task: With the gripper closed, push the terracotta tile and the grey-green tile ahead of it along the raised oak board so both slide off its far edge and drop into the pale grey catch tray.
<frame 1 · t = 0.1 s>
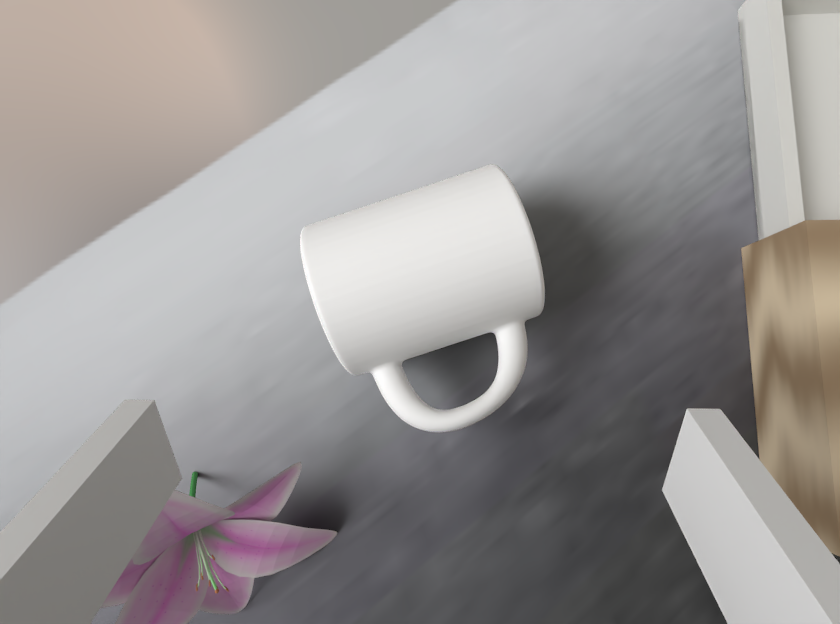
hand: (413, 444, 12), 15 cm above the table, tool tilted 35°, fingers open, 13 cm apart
lily: (244, 527, 27), on the table
mug: (436, 318, 28), on the table
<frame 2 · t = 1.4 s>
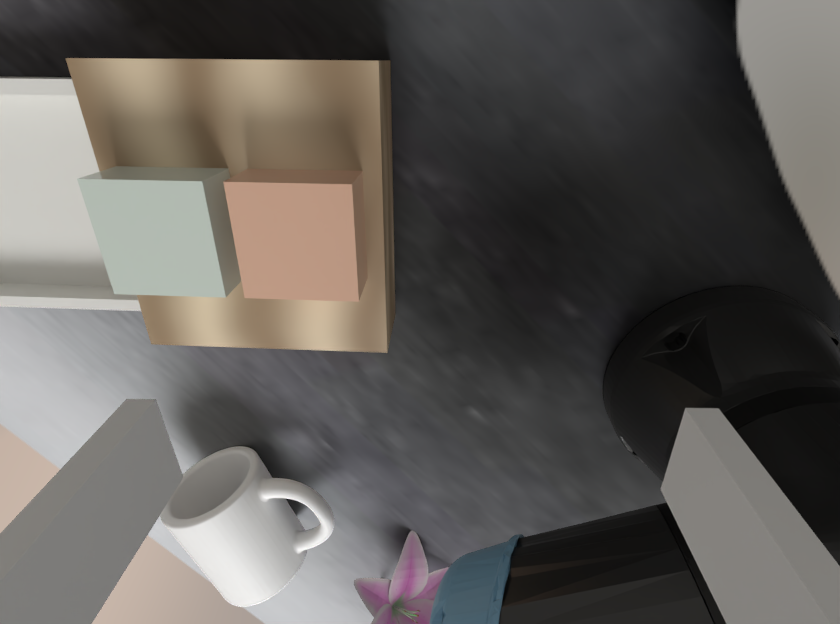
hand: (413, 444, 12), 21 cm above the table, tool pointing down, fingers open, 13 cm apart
tile grey: (184, 223, 26), point 5 cm above the table, touching oak board
catch tray: (50, 195, 31), on the table
tile terracotta: (310, 226, 26), point 5 cm above the table, touching oak board
oak board: (276, 200, 31), on the table
lily: (410, 564, 47), on the table
mug: (277, 480, 43), on the table
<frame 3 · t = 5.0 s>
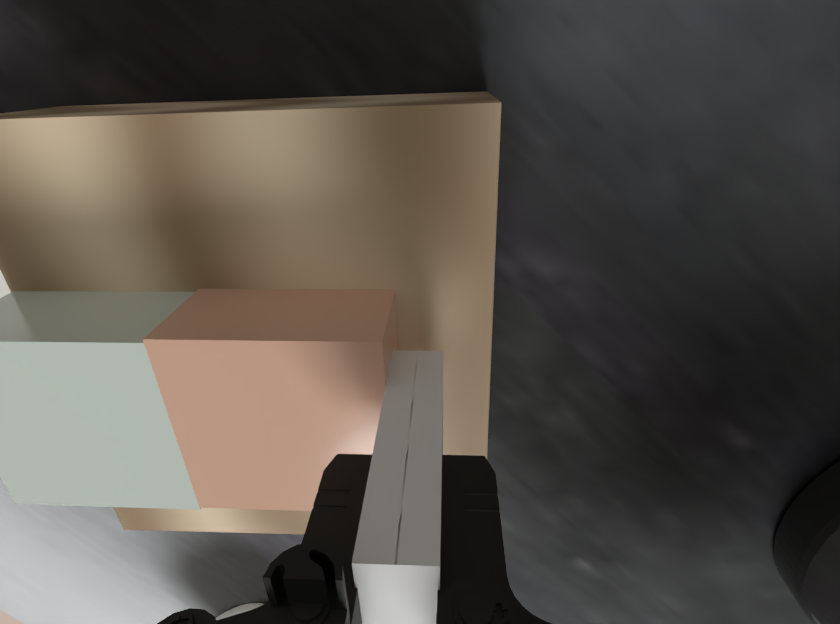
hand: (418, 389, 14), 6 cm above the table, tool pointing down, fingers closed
tile grey: (134, 371, 16), point 5 cm above the table, touching oak board, tile terracotta
tile terracotta: (308, 371, 16), point 5 cm above the table, touching gripper, oak board, tile grey
oak board: (303, 304, 20), on the table
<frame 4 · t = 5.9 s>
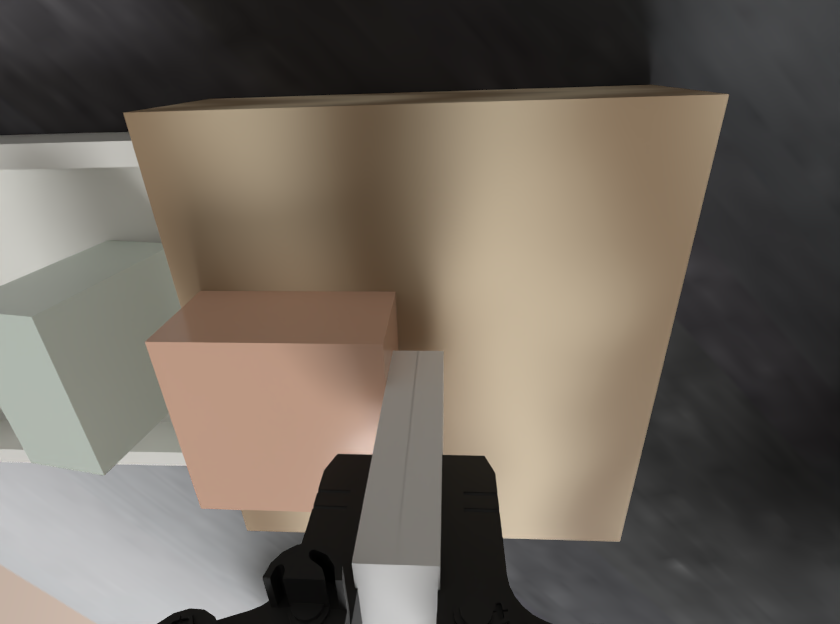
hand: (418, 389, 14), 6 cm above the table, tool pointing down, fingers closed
tile grey: (141, 351, 17), point 4 cm above the table, tilted 99°, touching catch tray
catch tray: (87, 303, 21), on the table
tile terracotta: (309, 373, 16), point 5 cm above the table, touching gripper
oak board: (429, 302, 20), on the table
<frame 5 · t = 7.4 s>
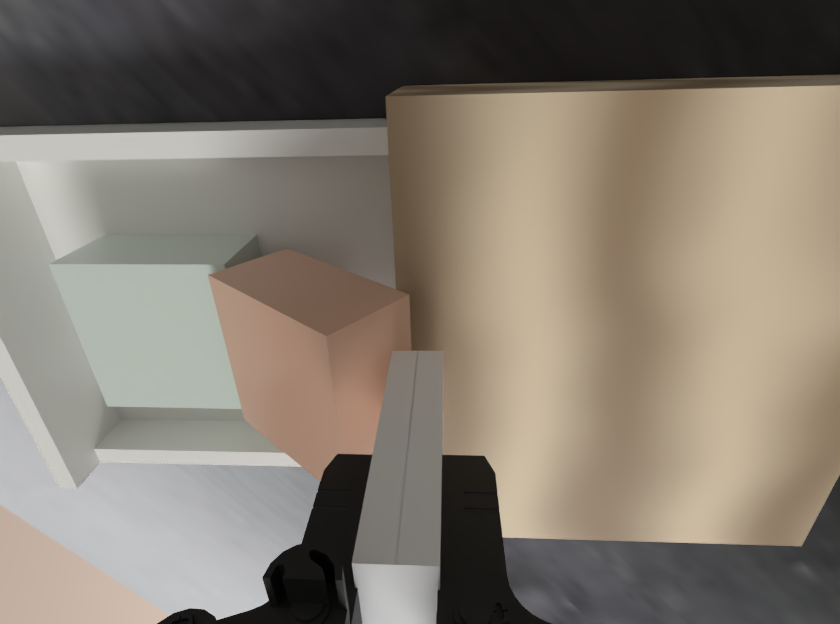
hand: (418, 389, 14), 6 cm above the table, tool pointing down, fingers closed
tile grey: (160, 342, 17), point 4 cm above the table, tilted 180°, touching tile terracotta
catch tray: (234, 299, 20), on the table
tile terracotta: (349, 347, 17), point 3 cm above the table, tilted 39°, touching gripper, tile grey
oak board: (596, 299, 19), on the table
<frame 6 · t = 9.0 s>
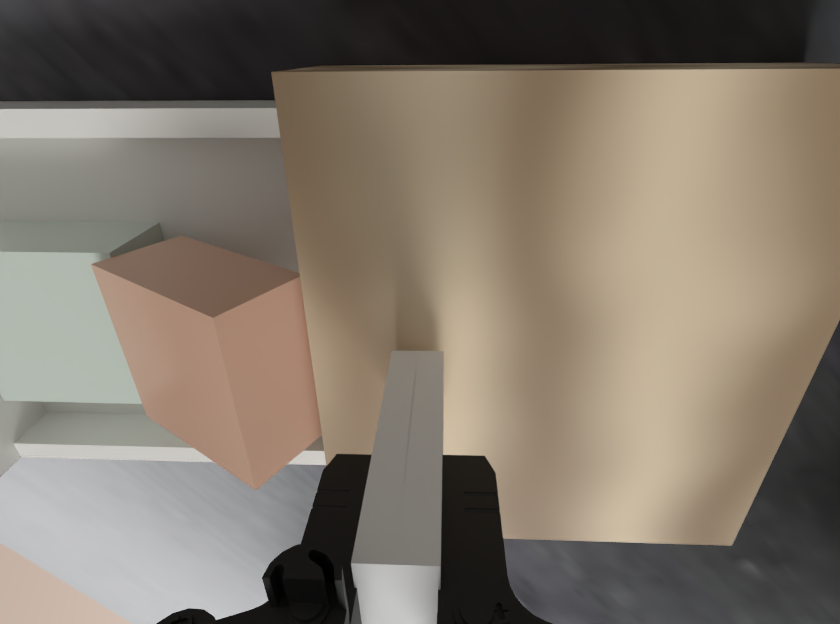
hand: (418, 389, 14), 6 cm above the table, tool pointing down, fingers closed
tile grey: (51, 333, 16), point 4 cm above the table, tilted 180°, touching catch tray, tile terracotta
catch tray: (158, 288, 19), on the table
tile terracotta: (253, 333, 17), point 3 cm above the table, tilted 32°, touching oak board, tile grey
oak board: (531, 293, 19), on the table
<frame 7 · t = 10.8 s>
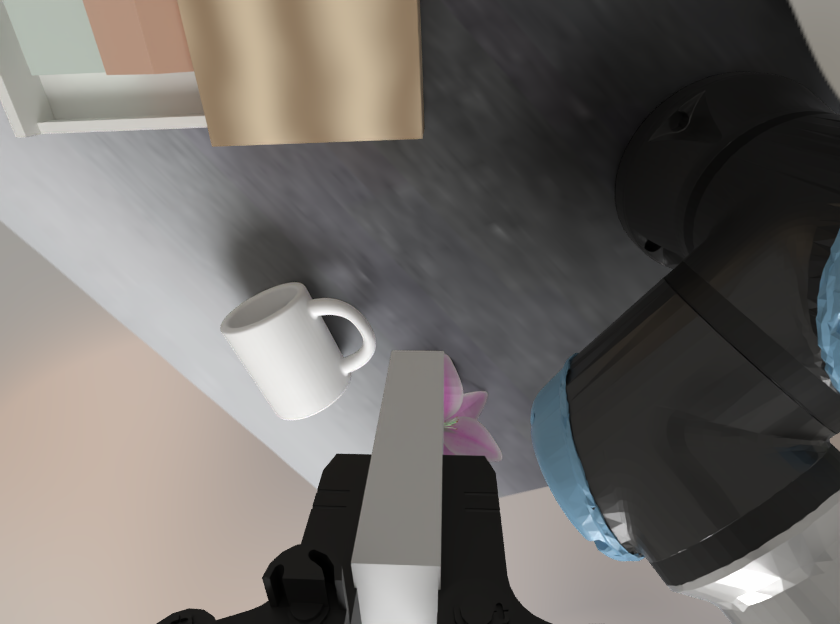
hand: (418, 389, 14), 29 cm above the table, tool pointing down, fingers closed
tile grey: (55, 23, 32), point 3 cm above the table, tilted 180°, touching catch tray, tile terracotta
catch tray: (113, 24, 35), on the table
tile terracotta: (158, 22, 32), point 3 cm above the table, tilted 32°, touching oak board, tile grey
oak board: (315, 13, 34), on the table
lily: (446, 394, 51), on the table
mug: (319, 321, 47), on the table
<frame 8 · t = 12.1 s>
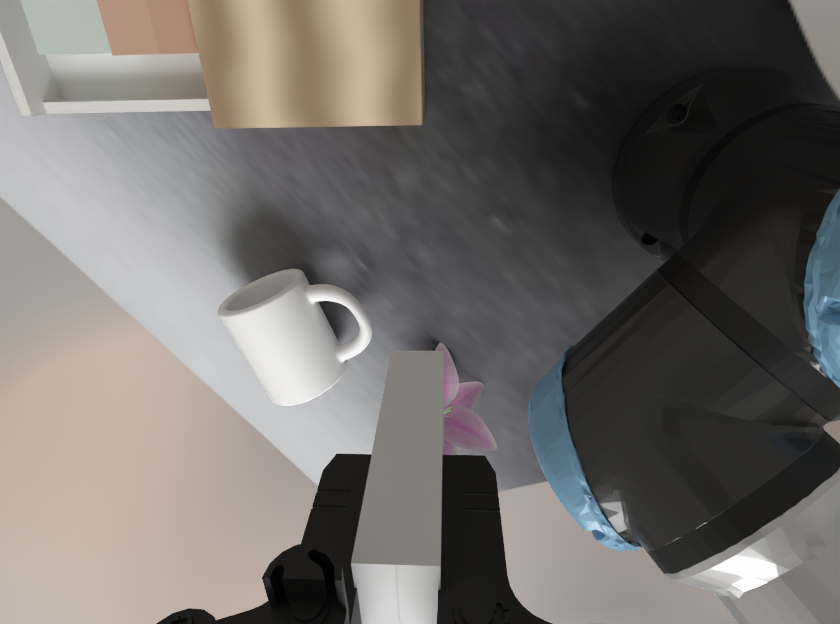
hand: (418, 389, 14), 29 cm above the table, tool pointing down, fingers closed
tile grey: (63, 3, 33), point 3 cm above the table, tilted 180°, touching catch tray, tile terracotta
catch tray: (121, 7, 36), on the table
tile terracotta: (165, 4, 33), point 3 cm above the table, tilted 32°, touching oak board, tile grey
oak board: (319, 0, 35), on the table
lily: (442, 384, 51), on the table
mug: (316, 309, 47), on the table
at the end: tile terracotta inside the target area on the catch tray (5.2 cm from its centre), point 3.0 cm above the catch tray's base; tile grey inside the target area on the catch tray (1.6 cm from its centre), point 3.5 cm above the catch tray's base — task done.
